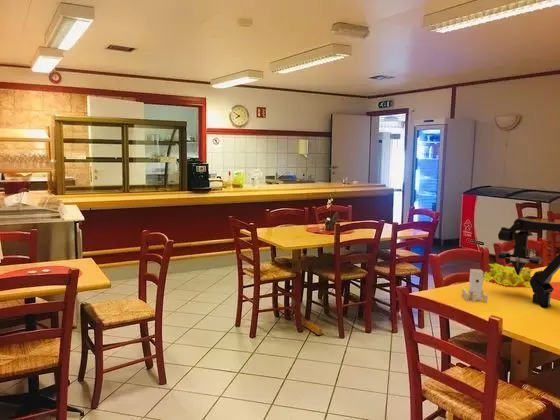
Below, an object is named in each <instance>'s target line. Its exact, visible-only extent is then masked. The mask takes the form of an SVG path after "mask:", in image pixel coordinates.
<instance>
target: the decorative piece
mask: <svg viewBox="0 0 560 420" xmlns="http://www.w3.org/2000/svg"><path fill="white" fill-rule="evenodd" d="M488 266H490V270H489V272H488V271H485V272H484V273H483V281H484V280H486V281H485V282H487V281H489V282H488V283H491V282H492V283H491V284H494V283H496V284H495V285H497V284H499V285H498V286H501V285H502V286H501V287H504V286H505V287H504V288H531V289H532V287H531V285H530V279H531V278H530V277H532V275H531V273H532V272H533V271H534V269H531V268H530V267H523V268H522V270H521V272H520V274H519V275H517V273H516V271H515V268H514V266H508V265H505V266H504V265H502V264H498V263H488ZM492 277H493V278H492Z"/></svg>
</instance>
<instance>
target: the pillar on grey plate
mask: <svg viewBox="0 0 560 420" xmlns="http://www.w3.org/2000/svg"><path fill="white" fill-rule="evenodd" d="M483 278H484V271H483V270H482V269H475V268H470V269H469V281H468V282H469V283H468V290H469V301H472V293H476V301H480V302H481V301H482V302H483V297H482V289H483V287H484V286H483V283H484V280H483Z"/></svg>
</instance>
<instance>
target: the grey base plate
mask: <svg viewBox="0 0 560 420" xmlns="http://www.w3.org/2000/svg"><path fill="white" fill-rule="evenodd" d="M461 296H462V297H463V298H464V300H465V302H469V301H470V298H469V289H468V290H467V289H466V288H465V287H462V295H461ZM476 301H477V300H476V293H472V300H471V302H474V303H475V302H476ZM482 302H483V303H486V304H487V303H488V294H486V293H484V288H482Z"/></svg>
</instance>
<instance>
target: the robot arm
mask: <svg viewBox="0 0 560 420" xmlns="http://www.w3.org/2000/svg"><path fill="white" fill-rule="evenodd" d="M530 230H538V231H548V232H549V231H550V232H558V233H559V234H560V222H553V221H538V220H534V219H532V218H527V217H521V218H517V219H515V220H514V221H513V224H512V225H511V227H510V228H509V227H505V226H502V227H501V228H500V230H499V232H498V234H497V238H498V240H499V241H504V242H508V243H509V242H510V243H512V242H514V243H513V245H512V248H513V253H512V254H511V252H510V251H504V250H503V251H500V252H498V254H497V258H498V259H503V260H505V259H506V258H509V259H510V260H509V262H510V263H511V264H512V265H513V266H512V267H514V268H515V271H516V273H517V275H519V274H520V272H521V270H522V268H525V266H526V265H527V264H529V263H530V264H532V265H541V264H542V263H543V258H542V257H541V256H536V255H533V256H531V250H530V249H529V246H528V242H529V241H528V239H529V237H531V236H533V235H534V234H533V233H532V232H531V231H530ZM559 269H560V252H559V253H558V254H557V255H556V256H555V257H554V258H553V260H551V262H550V263H549V264H547V266H546V267H545V268H544V269H543V270H542V269H541V270H537V271H535V272H534V273H533V275H531V276H530V278H531V279H530V285H531V287H532V288H531V289H532V293H533V294H532V301H531V302H532V303H533V304H537V305H539V307H540V308H546V309H547V308H549V307H551V306H552V303H551V296H552V292H554V287H553V286H552V285H551V281H552V278H553V276H554V275H555V274H556V272H558V270H559Z"/></svg>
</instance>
